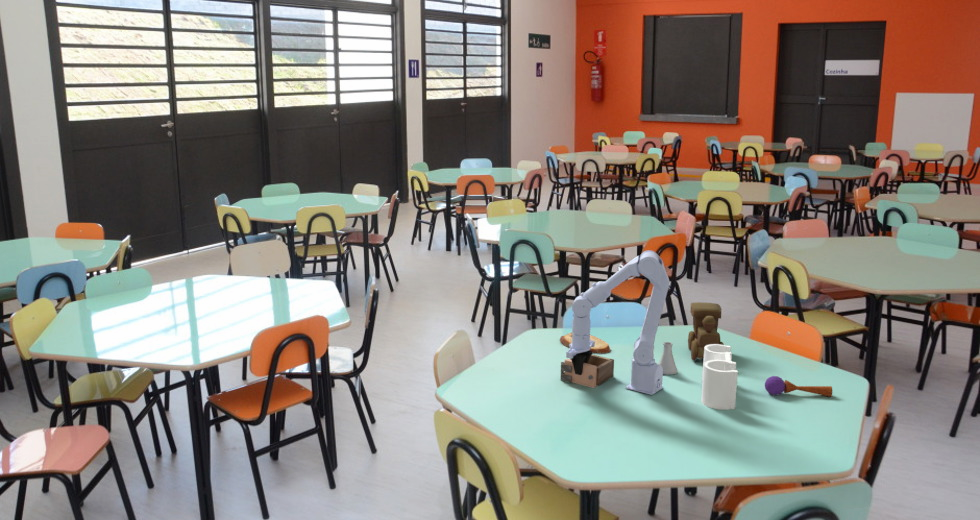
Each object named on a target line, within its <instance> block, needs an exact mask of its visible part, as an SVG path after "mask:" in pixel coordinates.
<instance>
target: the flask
mask: <svg viewBox="0 0 980 520" xmlns="http://www.w3.org/2000/svg"><path fill="white" fill-rule="evenodd" d="M662 344H663V351H662V354H661V356H660V358H659V362H658V363H657V364H658V365H661V366H662V368H663V375H666V376H667V375H668V376H669V375H670V376H671V375H676V374H677V373H678V368H677V365H676V362H675V359H674V355H673V345H674V344H673V343H672V342H670V341H664V342H663V343H662Z"/></svg>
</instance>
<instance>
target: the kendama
mask: <svg viewBox="0 0 980 520" xmlns="http://www.w3.org/2000/svg"><path fill="white" fill-rule="evenodd" d="M764 388H765V391H766V392H767V393H768V394H770V395H772V396H779V395H781V394H783V393H784V394H788V393H791V392H794V391H801V392H805V393H811V394H816V395H818V396H819V395H820V396H824V397H829V398H830V397H832V396H833V387H832V386H831V385H830V386H829V385H828V386H827V385H826V386H824V385H822V386H821V385H816V386H813V385H811V386H810V385H809V386H808V385H805V386H803V385H796V384H794V383H792V382H791V381H789V380H787V379H785V380H783V378H782V377H780V376H779V375H777V376H776V375H772V376H769V377H768V378H766V380H765V382H764Z"/></svg>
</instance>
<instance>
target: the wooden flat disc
mask: <svg viewBox="0 0 980 520" xmlns="http://www.w3.org/2000/svg"><path fill="white" fill-rule="evenodd" d="M590 340H593V341H595V346H594V347H591V349H590V351H592V354H607V353H611V351H612V350H611V347H610V345H609V343H607V342H606V341H605V340H602V339H601V338H599V337H596V336H594V335H591V334H590ZM559 341H560V343H561V345H563V346H565V347H567V348H568V349H570V347H569V344H571V343H572V332H569V333H566V334H565V335H562V336H560V338H559Z"/></svg>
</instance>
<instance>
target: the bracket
mask: <svg viewBox="0 0 980 520" xmlns="http://www.w3.org/2000/svg"><path fill="white" fill-rule="evenodd" d="M731 349H732V348H731V346H730V345H726V344H724V345H720V344H710V345H706V346H705V347H704V358H703V361H702V362H703V363H702V376H701V377H702V379H701V380H702V381H701V384H702V385H701V387H702V388H701V399H700V401H701V403H702V405H703V406H706V407H707V408H711V409H713V410H735V409H736V401H737V399H736V398H737V397H736V396H737V389H738V388H737V385H738V375H739V374H738V373H739V371H738V370H737V362H736V361H732V358H733V357H732V356H733V353H732V352H731Z"/></svg>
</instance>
